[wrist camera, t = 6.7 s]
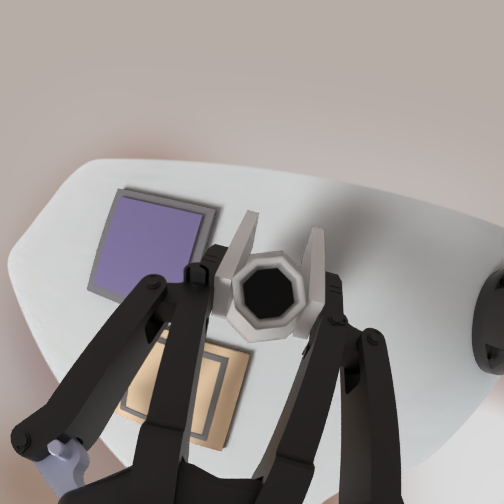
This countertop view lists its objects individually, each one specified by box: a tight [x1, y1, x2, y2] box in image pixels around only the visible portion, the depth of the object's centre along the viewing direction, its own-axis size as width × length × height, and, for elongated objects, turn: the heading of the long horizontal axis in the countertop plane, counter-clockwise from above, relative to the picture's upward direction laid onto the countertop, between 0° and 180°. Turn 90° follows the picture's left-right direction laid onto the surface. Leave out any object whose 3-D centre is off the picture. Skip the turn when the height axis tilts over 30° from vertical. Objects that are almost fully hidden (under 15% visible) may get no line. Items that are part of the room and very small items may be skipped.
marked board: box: [114, 329, 250, 451], centre depth 25 cm, size 14×12×1 cm
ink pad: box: [87, 189, 216, 304], centre depth 27 cm, size 12×12×1 cm
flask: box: [226, 251, 307, 343], centre depth 16 cm, size 7×7×10 cm
